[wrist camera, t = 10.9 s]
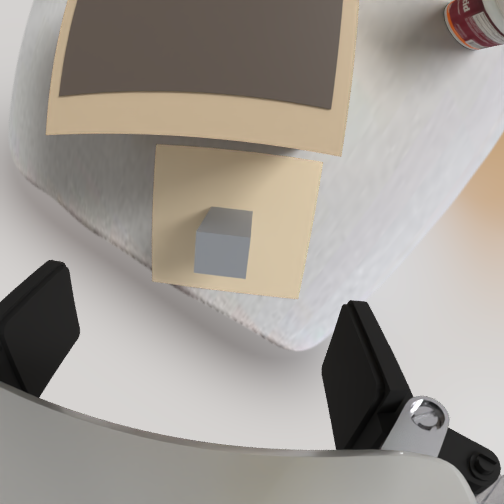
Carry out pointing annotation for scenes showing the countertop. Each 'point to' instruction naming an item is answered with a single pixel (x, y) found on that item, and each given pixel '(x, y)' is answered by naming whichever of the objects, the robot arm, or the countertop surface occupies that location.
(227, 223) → the flap
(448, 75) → the countertop surface
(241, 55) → the carton
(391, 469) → the robot arm
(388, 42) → the countertop surface
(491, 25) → the pill bottle
